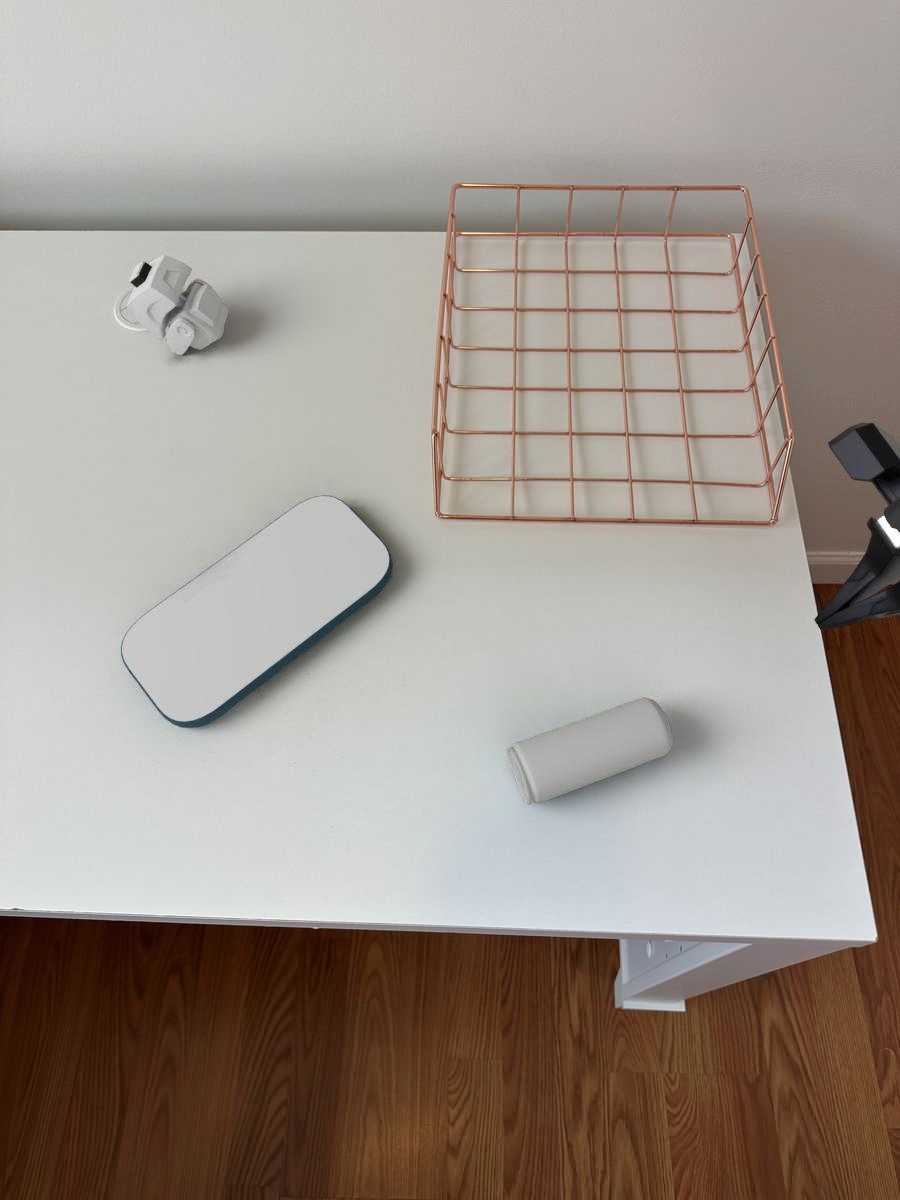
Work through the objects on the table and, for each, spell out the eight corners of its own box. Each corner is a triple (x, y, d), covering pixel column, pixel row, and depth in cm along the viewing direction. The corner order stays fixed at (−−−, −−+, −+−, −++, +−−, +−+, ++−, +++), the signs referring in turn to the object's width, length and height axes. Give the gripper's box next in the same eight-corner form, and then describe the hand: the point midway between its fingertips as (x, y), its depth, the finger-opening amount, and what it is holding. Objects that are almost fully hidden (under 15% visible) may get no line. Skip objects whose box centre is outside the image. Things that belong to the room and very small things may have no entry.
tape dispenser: (212, 326, 90) (129, 263, 84) (247, 303, 85) (161, 234, 79) (194, 369, 87) (107, 308, 81) (229, 347, 83) (140, 280, 77)
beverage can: (671, 715, 62) (521, 770, 61) (678, 765, 64) (534, 819, 63) (642, 683, 66) (501, 734, 65) (650, 731, 69) (514, 781, 67)
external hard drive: (187, 747, 68) (179, 740, 66) (114, 649, 72) (104, 640, 70) (408, 574, 74) (406, 564, 72) (330, 492, 78) (326, 481, 76)
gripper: (925, 326, 46) (697, 498, 54) (1165, 616, 38) (855, 761, 47) (972, 377, 54) (767, 520, 62) (1177, 625, 46) (911, 748, 55)
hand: (819, 625), depth 56 cm, fingers closed
